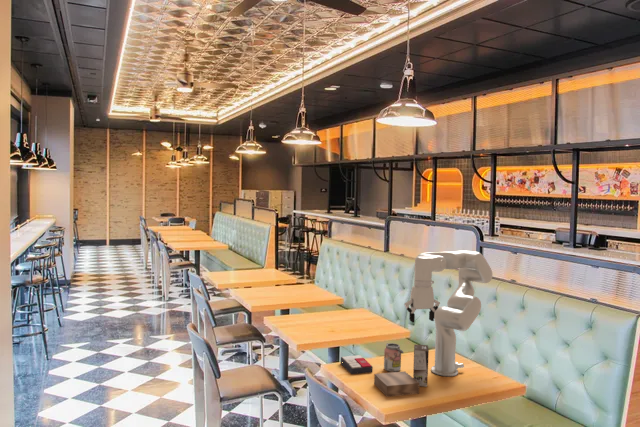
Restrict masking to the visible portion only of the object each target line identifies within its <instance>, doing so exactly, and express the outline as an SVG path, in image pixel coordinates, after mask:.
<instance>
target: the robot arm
mask: <svg viewBox="0 0 640 427" xmlns="http://www.w3.org/2000/svg"><path fill="white" fill-rule="evenodd" d="M457 269H458V285H457V288H455V290H454V292H452V294H451V295H450V297H449V298H448V300H447V305H446V306H440V304H441V303H440V301H438V300H436V299H435V297H434V296H435V295H434V289H433V286H432V285H433V284H434V283H435V282H434V280H432V273H434V272H435V273H437V272H439V273H440V272H443V271H444V270H457ZM492 280H493V271H492V267H491V266H490V265H489V263H488V261H487V259H486V258H485V257H484V255H483V254H482V253H481V252H479V251H472V250H465V249H464V250H461V249H460V250H455V251H454V250H452V251H438V252H436V251H432V252H421V253H419V254H418V255H417V256H416V257H415V259H414V280H413V281H414V285H412V287H411V292H410V298H409V300H407V301H406V302H404V304H403V305H404V307H405V309H406V311H407V312H408V314H409V316H408V317H409V322H411V323H413V324H414V323H415V322H416V321H415V318H416V316H415V312H416V311H417V310H429V311H428V319H429V321H431V322H434V325H435V344H434V346H435V347H434V348H435V350H434V366H432V367H431V368H430V369H431V370H430V371H431V372H432V373H433V374H435V375H438V376H441V377H455V376H458V374H459V370H458V369H461V368H465V365H464V363H459V362H457V361H456V350H457V349H456V347H457V346H456V344H457V336H456V332H455V330H456V331H459V332H464V331H467V330H468V329H469V328H470V327H471V326H472V325H473V323H474V322H475V320H476V319H477V318H478V316H479V314H480V312H481V310H482V301H481V300H480V299H479V297H477V296H475V290H474V287H473V285H472V282H474V283H479V284H480V283H481V284H489V283H490V282H491V281H492Z"/></svg>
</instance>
